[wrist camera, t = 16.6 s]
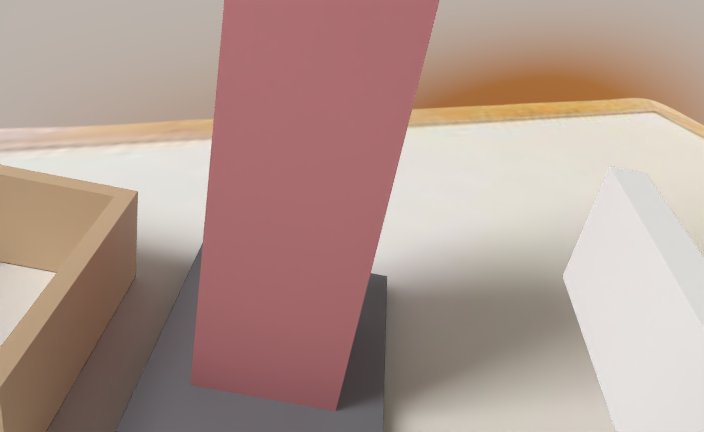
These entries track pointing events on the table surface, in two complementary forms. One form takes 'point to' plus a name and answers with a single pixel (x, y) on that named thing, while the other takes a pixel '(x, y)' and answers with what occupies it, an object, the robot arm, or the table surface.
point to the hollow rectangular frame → (60, 284)
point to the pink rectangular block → (300, 187)
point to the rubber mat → (248, 411)
